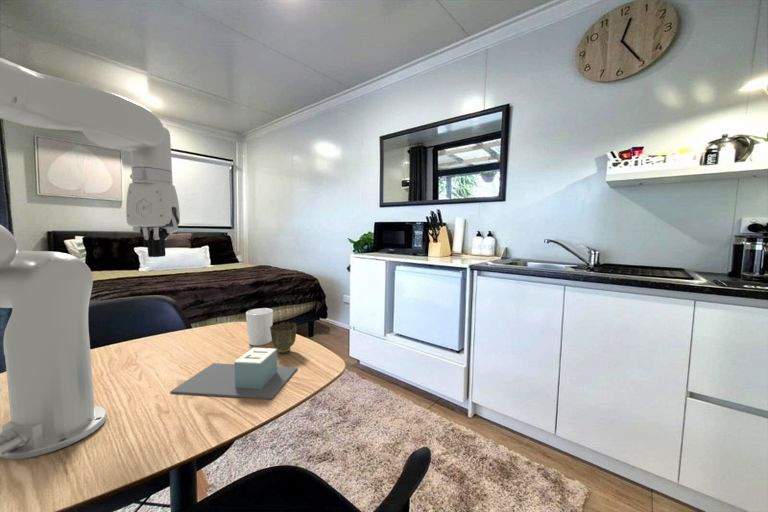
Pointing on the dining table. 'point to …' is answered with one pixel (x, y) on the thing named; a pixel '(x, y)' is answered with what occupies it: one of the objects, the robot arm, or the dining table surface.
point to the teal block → (255, 368)
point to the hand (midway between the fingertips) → (157, 256)
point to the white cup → (259, 326)
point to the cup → (283, 336)
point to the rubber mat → (231, 383)
